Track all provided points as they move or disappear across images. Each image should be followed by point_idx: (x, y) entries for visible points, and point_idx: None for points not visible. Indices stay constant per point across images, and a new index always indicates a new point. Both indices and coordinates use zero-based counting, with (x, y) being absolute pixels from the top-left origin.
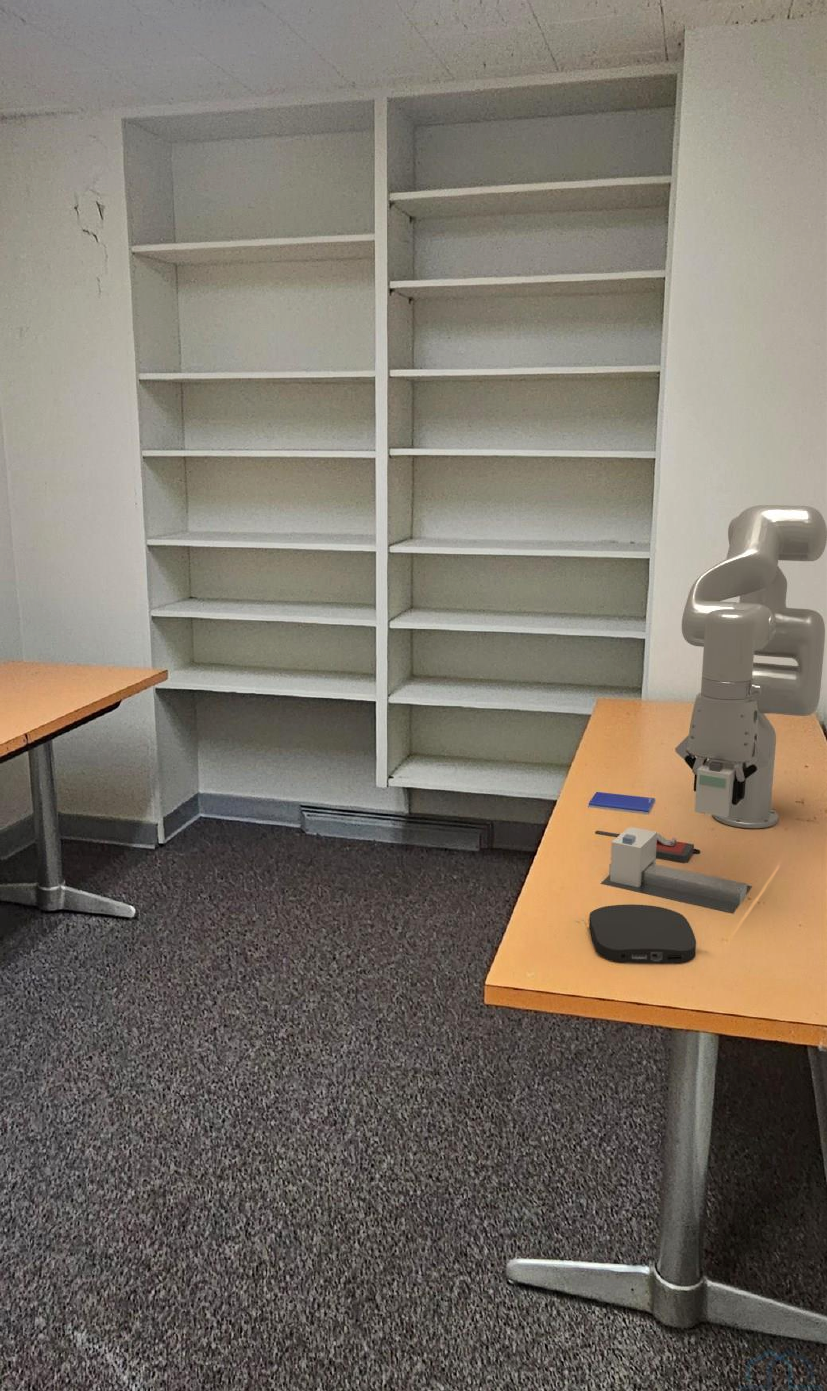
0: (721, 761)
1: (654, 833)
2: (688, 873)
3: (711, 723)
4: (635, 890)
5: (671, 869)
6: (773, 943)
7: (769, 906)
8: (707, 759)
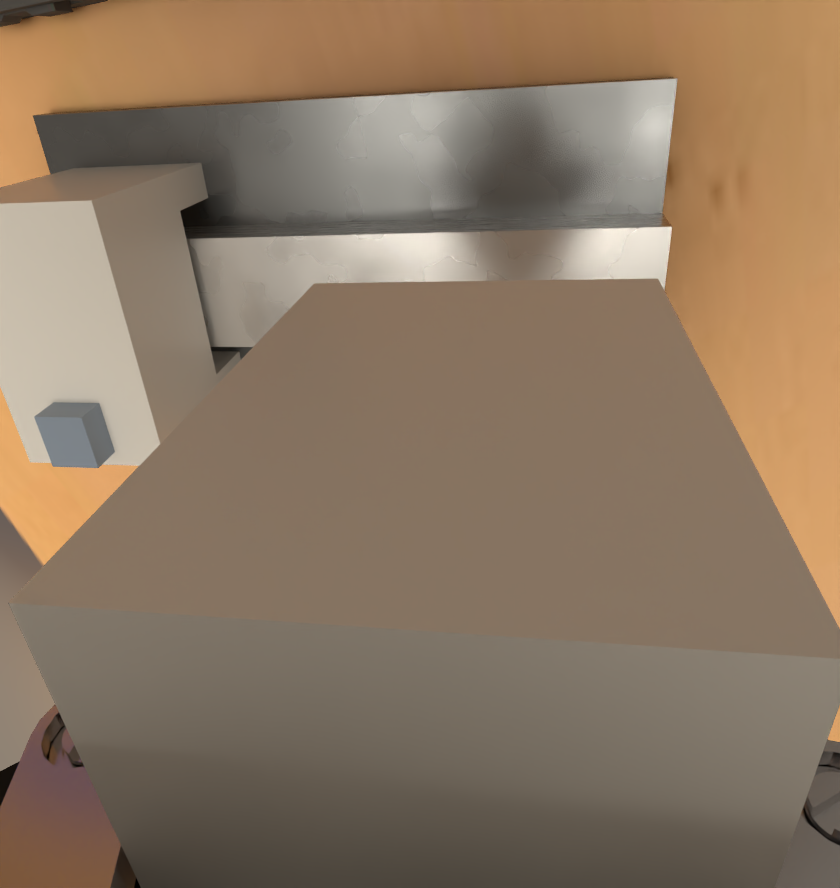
0: (353, 833)
1: (95, 233)
2: (380, 260)
3: None
4: None
5: (295, 256)
6: (802, 516)
7: (773, 208)
8: (114, 882)
